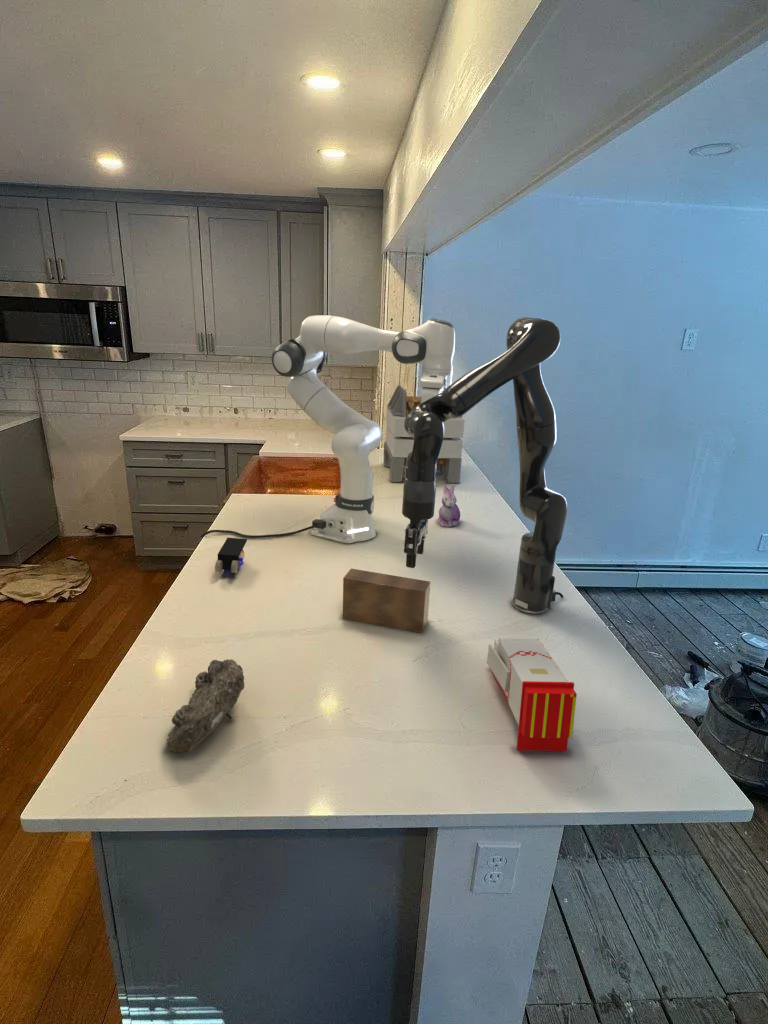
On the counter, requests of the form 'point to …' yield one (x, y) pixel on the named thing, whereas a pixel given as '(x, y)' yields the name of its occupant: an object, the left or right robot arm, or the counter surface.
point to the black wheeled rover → (230, 556)
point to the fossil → (206, 705)
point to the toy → (534, 693)
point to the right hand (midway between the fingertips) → (414, 560)
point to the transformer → (402, 443)
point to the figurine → (449, 508)
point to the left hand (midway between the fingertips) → (432, 425)
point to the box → (386, 600)
